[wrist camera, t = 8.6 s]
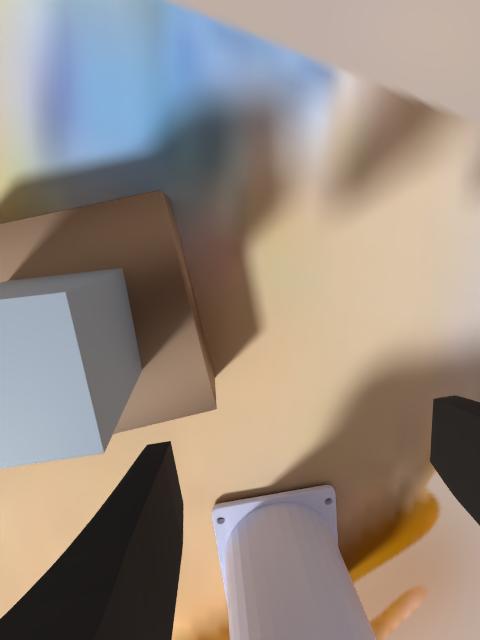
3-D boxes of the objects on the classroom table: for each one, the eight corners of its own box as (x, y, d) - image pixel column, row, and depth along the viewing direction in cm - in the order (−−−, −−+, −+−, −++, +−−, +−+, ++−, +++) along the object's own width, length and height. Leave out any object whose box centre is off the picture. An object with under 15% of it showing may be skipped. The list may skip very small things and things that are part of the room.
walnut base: (214, 374, 20) (216, 409, 16) (45, 414, 20) (6, 459, 16) (170, 199, 17) (160, 190, 13) (-26, 241, 17) (-95, 244, 13)
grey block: (142, 369, 15) (103, 453, 9) (37, 383, 15) (-70, 479, 9) (122, 268, 14) (65, 292, 8) (7, 280, 14) (-135, 315, 8)
